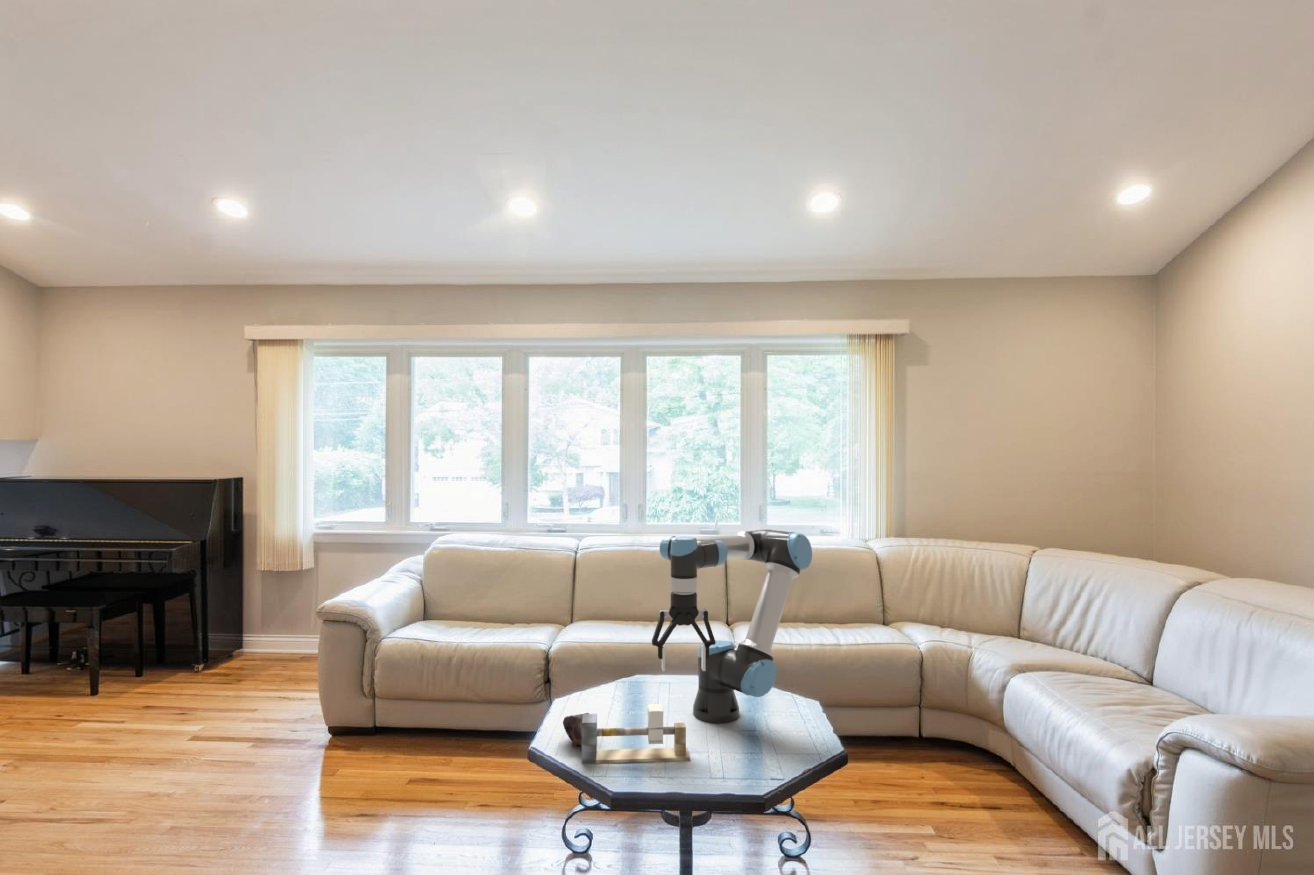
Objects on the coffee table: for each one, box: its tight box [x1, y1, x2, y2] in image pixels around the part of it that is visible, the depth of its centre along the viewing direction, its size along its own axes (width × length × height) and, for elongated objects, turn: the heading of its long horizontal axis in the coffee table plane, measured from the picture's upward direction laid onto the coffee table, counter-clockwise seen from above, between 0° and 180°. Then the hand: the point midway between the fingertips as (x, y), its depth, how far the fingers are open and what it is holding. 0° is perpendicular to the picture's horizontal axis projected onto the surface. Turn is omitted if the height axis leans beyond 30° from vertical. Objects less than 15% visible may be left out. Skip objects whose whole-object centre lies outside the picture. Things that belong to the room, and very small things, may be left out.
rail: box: [581, 713, 691, 764], centre depth 175 cm, size 30×6×11 cm, turn 94°
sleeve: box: [647, 703, 664, 745], centre depth 176 cm, size 4×5×9 cm
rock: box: [562, 712, 590, 746], centre depth 184 cm, size 12×9×10 cm
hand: (683, 669), depth 177 cm, fingers open, 11 cm apart
